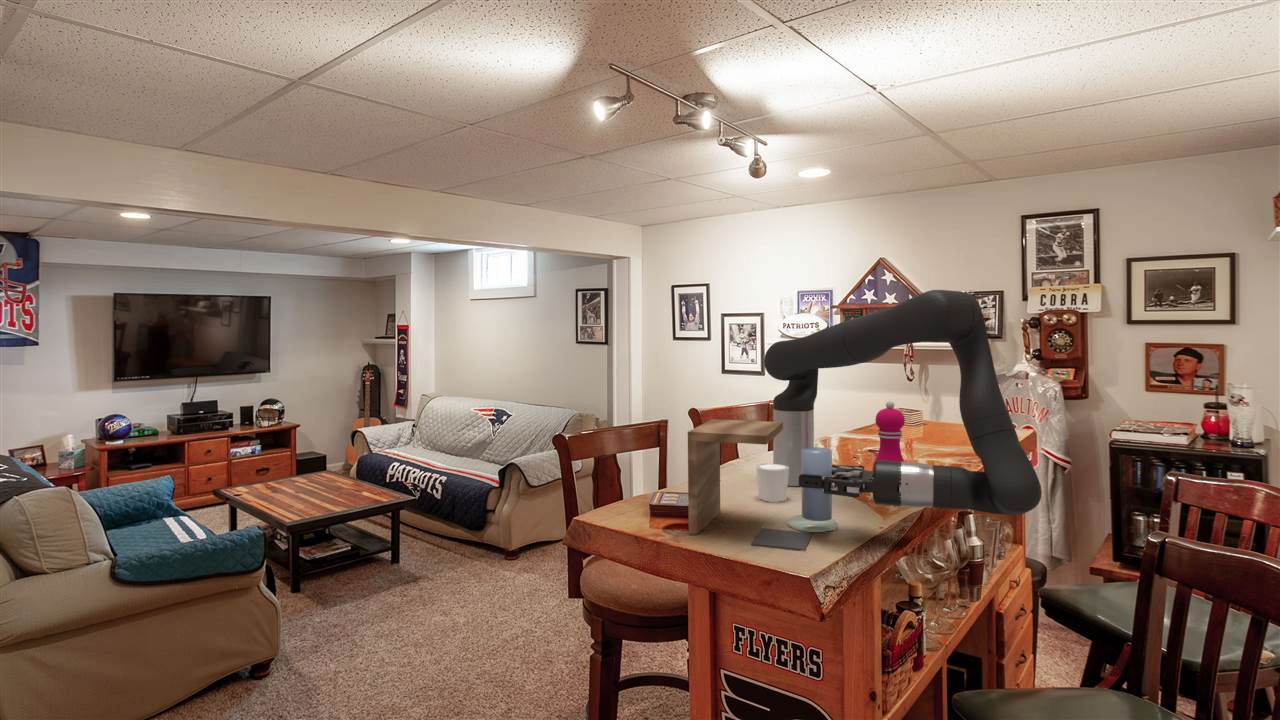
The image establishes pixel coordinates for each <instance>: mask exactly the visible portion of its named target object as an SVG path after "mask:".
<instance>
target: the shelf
mask: <svg viewBox="0 0 1280 720" xmlns="http://www.w3.org/2000/svg"><path fill="white" fill-rule="evenodd" d="M782 430H783V422H774V421H763V420H744V419H743V420H738V419H735V420H734V419H714V418H711V419H710V420H708V421H706V422H704V423H702V424H700V425H698V426H696V427H695V428H692V429H691V430H688V431H687V485H688V487H687V488H688V489H687V492H688V494H687V495H688V497H687V499H688V501H687V503H688V504H687V505H688V508H687V509H688V535H691V536H692V535H693V536H697V535H699V533H700V532H701V531H703V529H704V528H705V527H706V526H707V525H709V524H710V522H711V521H712V520H713V519H715V517H716V516H717V515H718V514H720V512H721V447H720V446H721V443H729V444H730V443H733V444H746V445H747V444H750V445H751V444H752V445H765V446H766V445H768V444H769V443H770V442H772V440H774V437H775V436H777V435H778V434H779V433H780V432H781V431H782Z"/></svg>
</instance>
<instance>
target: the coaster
mask: <svg viewBox="0 0 1280 720" xmlns="http://www.w3.org/2000/svg"><path fill="white" fill-rule="evenodd" d="M838 524H839V523H838V522H837V521H836V519H833V518H832V519H830V520H827V521H812V520H807V519H804V518H803V517H802V514H800V515H793V516H791V517H789V518H788V519H787V526H788V527H789V526H790V527H792V528H794V529H793V530H795V529H797V530H796V531H798V530H802V531H801V532H803V531H808V532H807V533H810V532H825V531H831V530H834V529H836V528H837V529H838V527H837V526H838ZM790 527H789V528H790ZM792 528H791V529H792ZM837 529H836V530H837ZM834 531H835V530H834ZM831 532H832V531H831ZM825 533H826V532H825Z"/></svg>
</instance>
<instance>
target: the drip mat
mask: <svg viewBox="0 0 1280 720" xmlns="http://www.w3.org/2000/svg"><path fill="white" fill-rule="evenodd" d="M811 536H813V533H810V532H803V531H798V530H786V529H776V528H765V527H761V528H760V530H759V531H758V533H757V534H756V536H755V537H754V538H753V540H752V541H751V543H750V545H751V546H755V547H765V548H773V549H781V550H782V549H783V550H791V549H792V550H791V551H799V550H805V549H806V550H807V548H808V546H809V543H810V541H809V540H811V539H812V537H811ZM810 538H811V539H810ZM808 542H809V543H808ZM807 545H808V546H807ZM806 547H807V548H806ZM806 550H805V551H806Z"/></svg>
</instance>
